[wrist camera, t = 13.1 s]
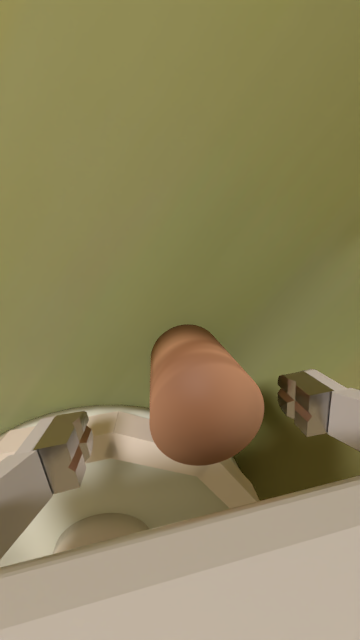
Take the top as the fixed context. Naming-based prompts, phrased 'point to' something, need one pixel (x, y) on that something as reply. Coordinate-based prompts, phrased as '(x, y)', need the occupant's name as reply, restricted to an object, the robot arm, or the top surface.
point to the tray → (123, 486)
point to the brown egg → (200, 398)
